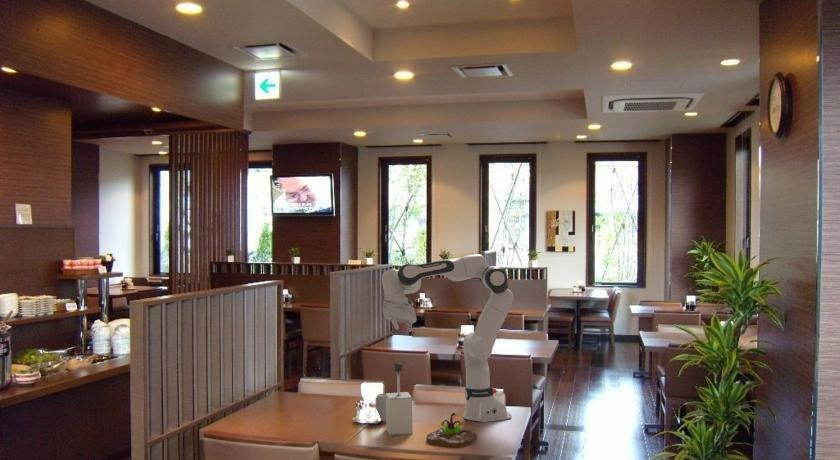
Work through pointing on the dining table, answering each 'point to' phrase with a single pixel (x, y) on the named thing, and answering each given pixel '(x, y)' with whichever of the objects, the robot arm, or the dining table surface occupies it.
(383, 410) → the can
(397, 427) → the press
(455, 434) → the plant
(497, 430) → the dining table surface
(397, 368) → the plunger
